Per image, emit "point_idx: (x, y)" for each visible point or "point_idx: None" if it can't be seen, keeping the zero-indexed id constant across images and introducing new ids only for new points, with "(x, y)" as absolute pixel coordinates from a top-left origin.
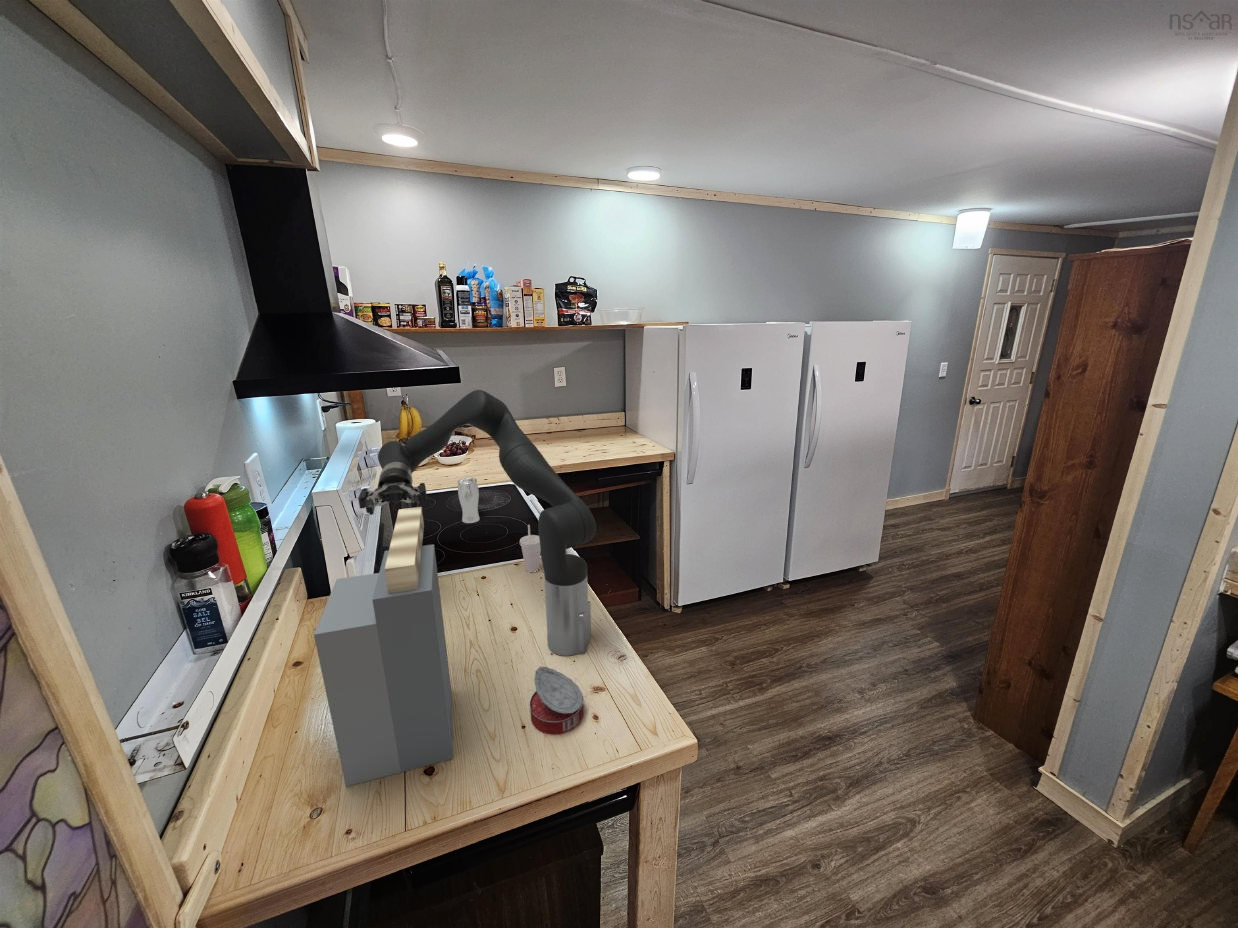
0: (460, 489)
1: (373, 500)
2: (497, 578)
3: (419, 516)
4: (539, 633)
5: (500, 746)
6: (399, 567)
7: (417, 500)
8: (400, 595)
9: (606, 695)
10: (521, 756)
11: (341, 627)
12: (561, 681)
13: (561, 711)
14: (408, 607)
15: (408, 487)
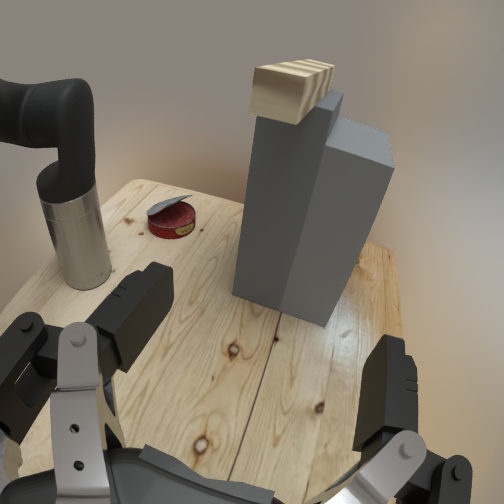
0: None
1: (379, 426)
2: (21, 468)
3: (274, 64)
4: (91, 304)
5: (227, 228)
6: (322, 62)
7: (123, 282)
8: None
9: (130, 214)
10: (219, 216)
11: (366, 126)
12: (157, 210)
13: (182, 196)
14: None
15: (54, 429)
